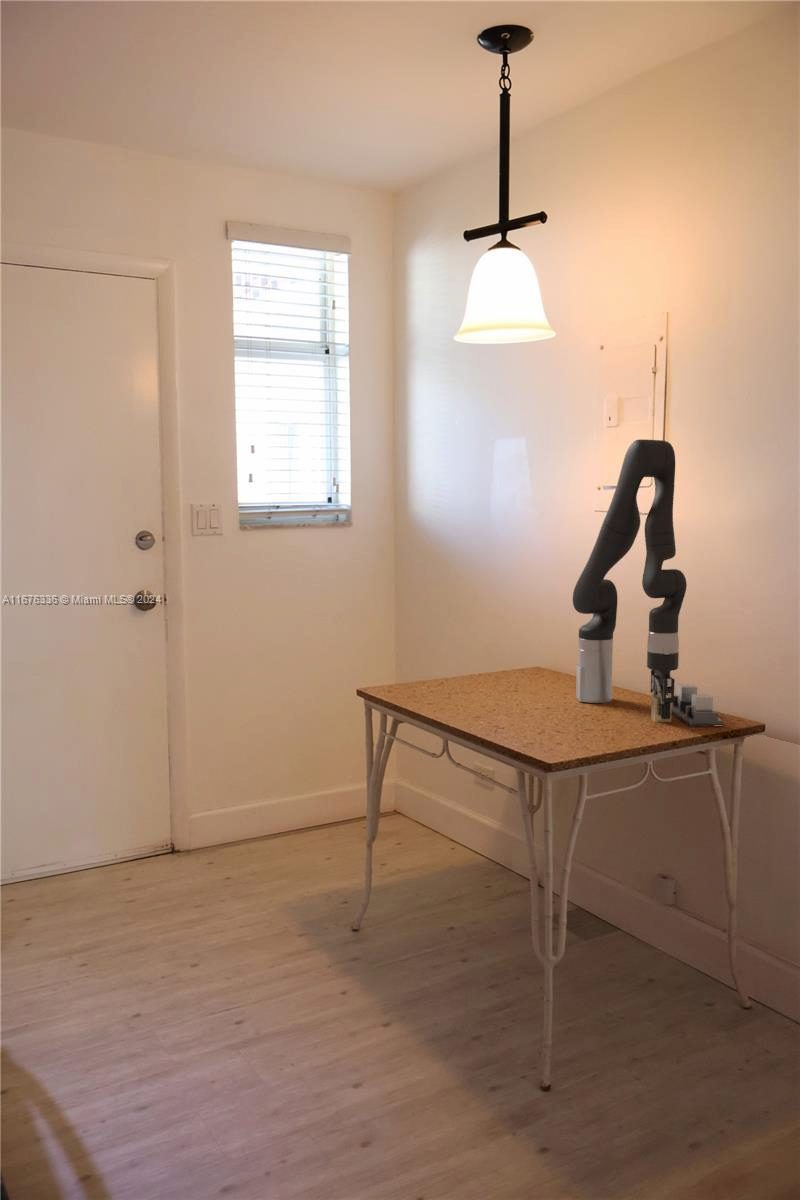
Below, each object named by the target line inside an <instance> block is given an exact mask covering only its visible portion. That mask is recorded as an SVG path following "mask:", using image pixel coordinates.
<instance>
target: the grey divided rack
mask: <svg viewBox="0 0 800 1200" xmlns="http://www.w3.org/2000/svg"><path fill="white" fill-rule="evenodd" d="M676 691H677V695H675V694H674V703H672V708H671V714H672V713H673V715H675V716H676V718H678V719H679V720H681V721H682V722H683V723H684V724H685V723H686V724H685V725H687V726H688V727H689V728H694V727H693V726H714V725H724V721H723V719H722V718H720V717H719V712H718V711H713V707H714V705H713V704H714V702H713V701H714V698H713V696H711V695H709V694H706V693H705V694H704V693H702V694H700V693H699V694H698V686H696V685H695V684H694V683H693V684H692V683H691V684H684V683H683V684H682V683H681V684H680V683H679V684H677V690H676ZM690 726H692V727H690Z"/></svg>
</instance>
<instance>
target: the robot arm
mask: <svg viewBox="0 0 800 1200" xmlns="http://www.w3.org/2000/svg"><path fill="white" fill-rule="evenodd" d="M644 478H653V480H654V497H653V500H652V504H651V506H650V509H649V511H648V513H647V516H646V520H645V522H644V540H645V550H646V551H645V552H646V554H645V555H646V556H645V564H644V569H643V573H642V574H643V575H642V580H641V581H642V582H641V583H642V589H643V592H644V593H645V594H646V596H648V597H649V599H650V598H651V599H663V602H662V604H660V605H659V606H657V607H653V608H652V609H650V611H649V614H648V616H649V617H648V636H647V646H646V647H647V651H646V652H647V653H646V655H647V656H646V667H647V669H648V670H650V689H649V690H650V694H651V696H652V695H659V696H660V699H661V718H662V719H670V711H671V704H672V703H674V695H675V681H676V680H675V678H673V677H672V676H671V671H676V670H678V669H679V659H680V658H679V653H680V652H679V651H680V650H679V649H680V647H679V646H680V639H679V615H680V612H681V608H682V605H683V603H684V602H683V601H684V599H685V595H686V591H687V587H688V586H687V579H686V576H685V573H684V572H682V570H679V569H676V568H674V569H673V568H671V569H667V568H666V569H662V568H663V564H664V562H665V561H668V560H671V559H674V557H675V556H676V554H677V552H676V551H677V549H676V538H675V537H676V536H675V530H674V529H675V528H674V498H675V497H674V495H675V479H676V454H675V450H674V446H673V445H672V444H671V443H670V442H669V441H666V440H662V439H659V440H658V439H657V440H656V439H636V440H634V441H632V442H631V444H630V445H629V447H628V448H627V450H626V452H625V455H624V457H623V461H622V465H621V469H620V472H619V476H618V480H617V484H616V488H615V489H614V493H613V495H612V496H613V497H612V499H611V501H610V505H609V507H608V510H607V512H606V515H605V517H604V520H603V521H602V525H601V527H600V530H599V533H598V536H597V538H596V541H595V544H594V545H593V548H592V551H591V553H590V555H589V558H588V560H587V562H586V564H585V566H584V568H583V570H582V572H581V573H580V576H579V578H578V579H577V582H576V584H575V586H574V589H573V592H572V606H573V607H574V610H575V611H577V612H578V613H580V614H583V615H590V614H591V615H592V618H591V619H590V620H589V621H588V622H587V623H585V624H583V625H581V626H580V627H579V629H578V649H577V650H578V654H577V655H578V657H577V659H578V661H577V662H578V663H576V676H575V677H576V678H575V679H576V681H575V683H576V684H575V685H576V687H575V689H576V690H575V692H576V693H575V698H576V699H577V701H578V702H580V703H589V704H604V703H605V704H606V703H610V702H612V701H613V700H612V699H613V660H614V659H613V654H614V653H613V650H614V649H613V648H614V632H615V630H616V626H617V625H616V624H617V613H618V611H617V610H618V599H619V598H618V591H617V587H616V584H615V583H614V582H613V581H612V580H610V579H605V578H606V575H607V574H608V573H609V571H610V570H611V569H613V567H614V566H615V565H616V564H617V563H618V562H620V561H621V559H623V558H624V557H625V556H626V555H627V554H628V553H629V551H630V550H631V549H632V547H633V545H634V543H635V540H636V538H637V536H638V534H639V531H640V527H641V516H640V515H641V514H640V509H639V506H638V501H637V499H638V497H637V496H638V492H639V489H640V486H641V483H642V481H643V479H644ZM666 695H667V696H668V698H666Z"/></svg>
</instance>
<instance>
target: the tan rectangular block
mask: <svg viewBox="0 0 800 1200" xmlns="http://www.w3.org/2000/svg"><path fill="white" fill-rule="evenodd" d="M666 698H668V696H667V695H666ZM650 702H651V703H650V704H651V707H650V711H651V712H650V719H651V720H653V721H652V722H655V723H671V722H672V712H671V711H670V719H662V718H661V699H660V696H659V695H652V694H651V701H650ZM671 708H672V704H671Z"/></svg>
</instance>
